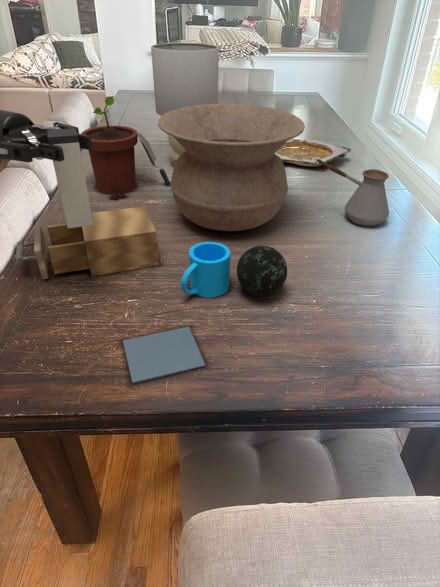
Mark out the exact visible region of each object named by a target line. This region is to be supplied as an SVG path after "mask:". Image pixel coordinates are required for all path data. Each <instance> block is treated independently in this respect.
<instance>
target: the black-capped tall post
mask: <svg viewBox="0 0 440 587" xmlns="http://www.w3.org/2000/svg"><path fill="white" fill-rule="evenodd" d="M47 135H48V142H49V144H51V145H55V146H60V147H61V148H62V149H63V154H64V160H63V161H61V162H59V161H54V160H52V164H53V168H54V174H55V178H56V182H57V186H58V191H59V196H60V201H61V204H62V209H63V213H64V219H65V224H66V223H67V228H75V227H83V226H91V225H93V219H92V214H91V213H92V209H91V204H90V196H89V192H88V187H87V180H86V175H85V170H84V164H83V158H82V152H81V148H80V146H79V141H78V135H77V131H76V128H69V129H54V130H47Z"/></svg>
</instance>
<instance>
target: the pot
mask: <svg viewBox="0 0 440 587" xmlns="http://www.w3.org/2000/svg"><path fill="white" fill-rule="evenodd" d="M157 126H158V128H159V129H160V130H161V131H162V132H163V133H165V134H166V135H167V136H168V135H171V136H173V137H174V138H175V139H176V140H177V141H178V142H179V143H180V144H181V145H182V147H183V148H184V149H185V150H186V151H185V152H184V153H183V154H182V155H181V156H179V158H178V160H177V162H176V164H175V166H174V165H173V170H172V174H171V180H170V190H171V192H172V196H173V199H174V202H175V204H176V206H177V208H178V210H179V211H180V213H181V214H182V215H183V216H184V217H185V218H186V219H188V220H189V221H190V222H192V223H194V224H195V225H197V226H199V227H203V228H205V229H208V230H209V229H210V230H214V231H222V232H238V231H239V232H240V231H241V232H242V231H246V230H247V231H248V230H252V229H255V228H258V227H260V226H262V225H264V224H265V223H267V222H269V221H270V220H272V219H273V218H274V217H275V216H276V215H277V213H278V212H279V211H280V210H281V207H282V205H283V203H284V200H285V198H286V196H287V194H288V190H289V189H288V188H289V186H288V181H287V180H288V179H287V172H286V167H285V164H284V163H283V162H282V161H281V159H280V158H279V157H278V156H277V155H276V154H275V152H276V151H277V150H278V149H279V148H281V147H282V146H283V145H284V144H285V143H286V142H287V141H288V140H290V139H296V138H297V137H298V136H299V137H300V135H301V134H303V133H304V131H305V129H306V125H305V122H304V121H303V120H302V119H301V118H300V117H298V116H296V115H295V114H293V113H290V112H287V111H285V110H280V109H277V108H274V107H273V108H272V107H268V106H262V105H256V104H255V105H254V104H245V103H242V104H241V103H218V104H204V105H194V106H188V107H183V108H179V109H175V110H172V111H169V112H167V113H165V114H164V115H162V116H161V115H160V117H159V118H158V120H157Z"/></svg>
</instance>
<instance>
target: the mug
mask: <svg viewBox="0 0 440 587" xmlns="http://www.w3.org/2000/svg"><path fill="white" fill-rule="evenodd" d="M188 255H189V256H188V258H189V259H188V260H189V262H188V264H189V266H188V267H187V268H186V270H185V271H184V273H183V274H182V277H181V280H180V288H181V291H182V292H183V293H184V294H185V295H190V296H191V295H196V296H199V297H202V298H216V297H220V296H223V295H224V294H226V293H227V292H228V291H229V288H230V272H231V269H230V267H231V250H230V248H229V247H228V246H226V245H225V244H223V243H220V242H217V241H203V242H198V243H196V244H194V245H192V246H191V247H190V248H189V250H188ZM188 280H189V288H190V289H189V288H188V287H187V285H188Z"/></svg>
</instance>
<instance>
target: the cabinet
mask: <svg viewBox="0 0 440 587" xmlns="http://www.w3.org/2000/svg"><path fill="white" fill-rule="evenodd" d="M91 214H92V219H93V225H91V226H83V227H82V230H83V235H84V241H85V246H86V251H87V256H88V261H89V266H90V269H89V272H90V275H91V277H97V276H102V275H109V274H114V273H120V272H125V271H132V270H139V269H145V268H152V267H156V266H157V267H158V266H160V261H159V252H158V251H159V249H158V238H157V237H158V236H157V230H156V228H155V226H154V224H153V221H152V219H151V217H150V215H149V212H148V210H147V209H146V206H145V205H144V206H137V207H129V208H120V209H113V210H104V211H97V212H96V211H95V212H91Z"/></svg>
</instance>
